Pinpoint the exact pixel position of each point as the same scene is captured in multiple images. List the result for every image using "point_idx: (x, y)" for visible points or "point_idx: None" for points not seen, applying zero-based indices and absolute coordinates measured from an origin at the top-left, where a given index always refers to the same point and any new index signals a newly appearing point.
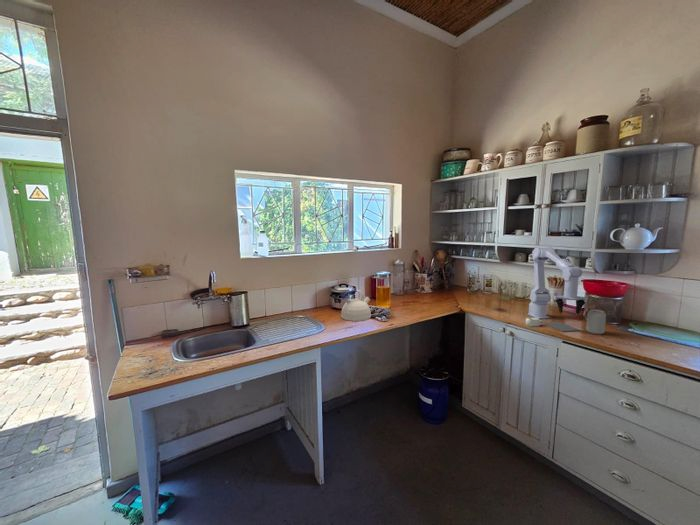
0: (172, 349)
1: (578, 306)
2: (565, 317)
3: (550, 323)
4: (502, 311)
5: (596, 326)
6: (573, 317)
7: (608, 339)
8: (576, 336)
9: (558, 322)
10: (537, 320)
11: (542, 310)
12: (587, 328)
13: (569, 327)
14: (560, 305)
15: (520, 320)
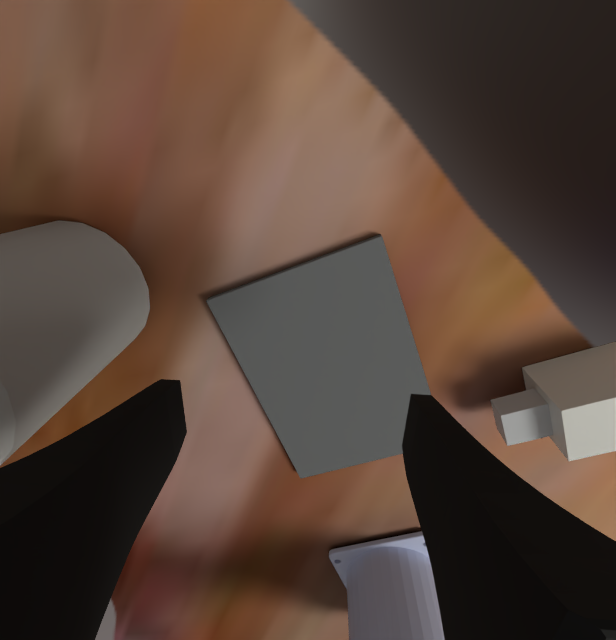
0: None
1: (91, 494)
2: (210, 570)
3: (393, 430)
4: None
5: (39, 241)
6: (158, 574)
7: (16, 80)
8: (304, 105)
9: (313, 461)
10: (585, 395)
11: (401, 615)
12: (138, 294)
13: (273, 354)
14: (544, 504)
15: (605, 480)
